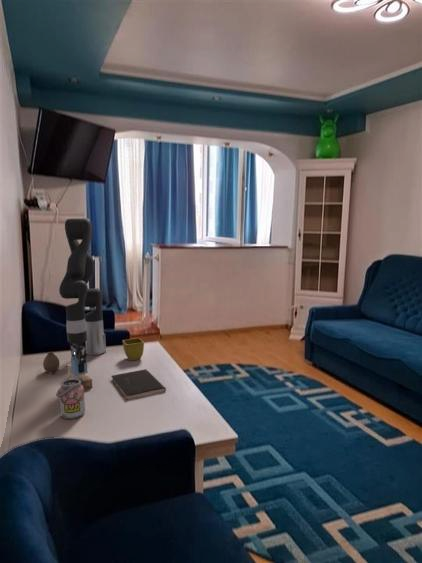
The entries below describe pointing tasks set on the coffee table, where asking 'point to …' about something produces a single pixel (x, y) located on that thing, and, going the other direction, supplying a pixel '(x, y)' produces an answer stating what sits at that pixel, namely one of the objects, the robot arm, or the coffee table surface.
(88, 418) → the coffee table surface
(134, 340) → the flower pot
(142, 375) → the hardcover book
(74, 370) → the blue block
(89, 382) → the walnut base
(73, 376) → the beech block
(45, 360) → the brown oval piece
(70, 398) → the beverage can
